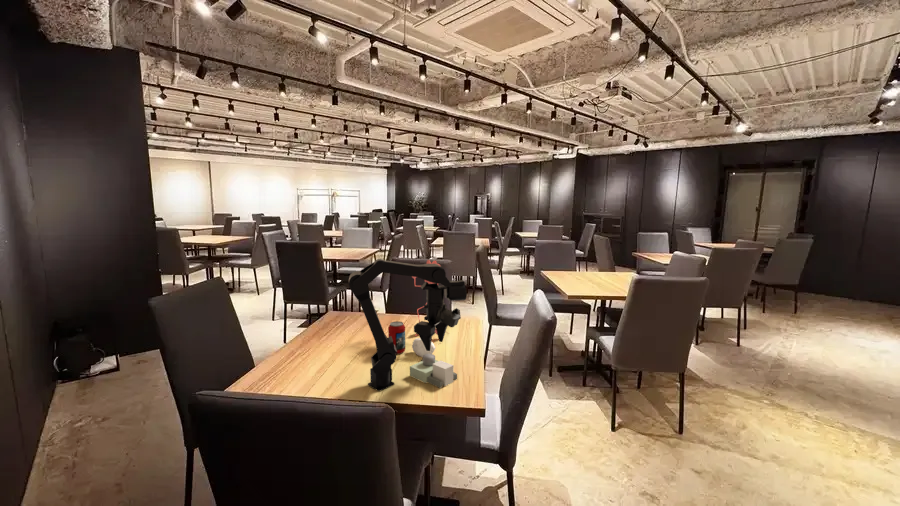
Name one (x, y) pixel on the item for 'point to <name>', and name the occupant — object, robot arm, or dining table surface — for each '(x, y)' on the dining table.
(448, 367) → the upright cream block
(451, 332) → the dining table surface
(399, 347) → the beverage can
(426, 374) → the wall plug adapter
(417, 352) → the bust
